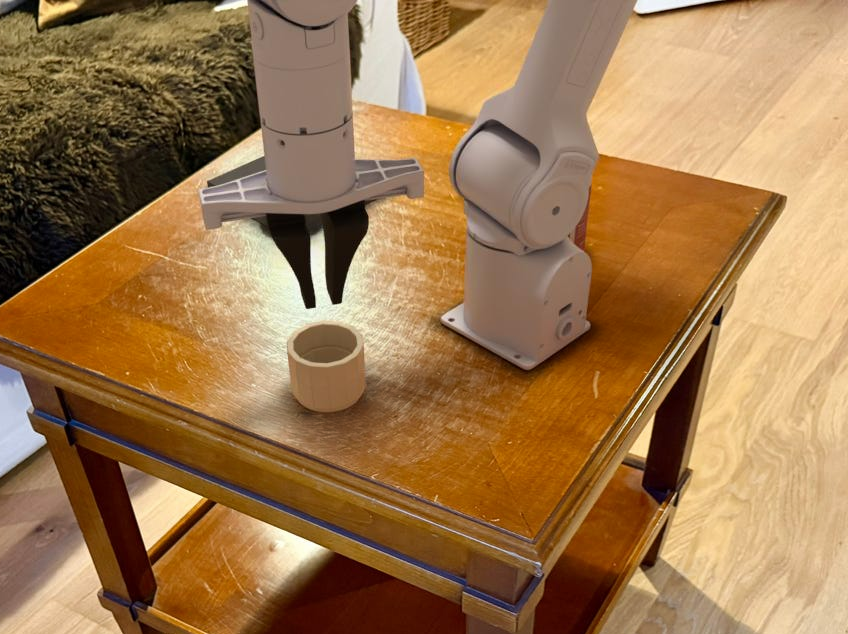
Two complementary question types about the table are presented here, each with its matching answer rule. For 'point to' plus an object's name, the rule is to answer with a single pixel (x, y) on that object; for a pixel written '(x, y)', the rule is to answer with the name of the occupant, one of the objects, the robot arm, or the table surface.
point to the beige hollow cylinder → (326, 365)
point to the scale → (254, 167)
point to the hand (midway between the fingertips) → (321, 298)
